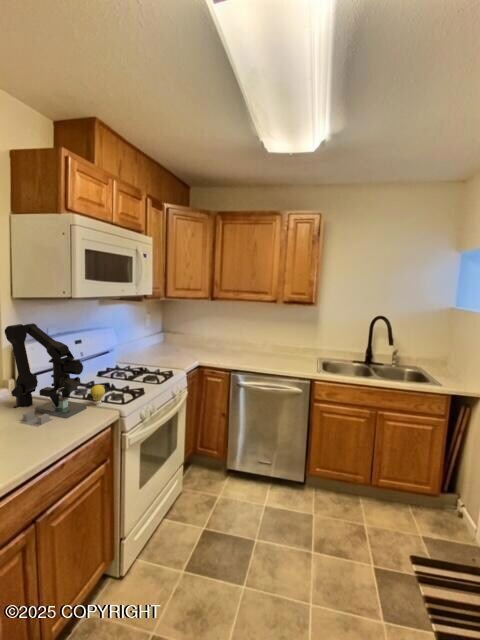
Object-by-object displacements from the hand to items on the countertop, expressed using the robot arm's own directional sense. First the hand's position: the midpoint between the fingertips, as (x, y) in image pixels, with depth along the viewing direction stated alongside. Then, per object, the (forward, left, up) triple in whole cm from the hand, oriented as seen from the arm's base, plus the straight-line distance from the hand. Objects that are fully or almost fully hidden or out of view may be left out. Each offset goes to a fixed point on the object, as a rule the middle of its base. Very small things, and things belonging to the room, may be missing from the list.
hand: (61, 404), depth 164 cm
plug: (0, 0, -4) cm, 4 cm away
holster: (-1, -13, -4) cm, 14 cm away
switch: (0, 0, -4) cm, 4 cm away
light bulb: (+9, +14, -4) cm, 17 cm away
